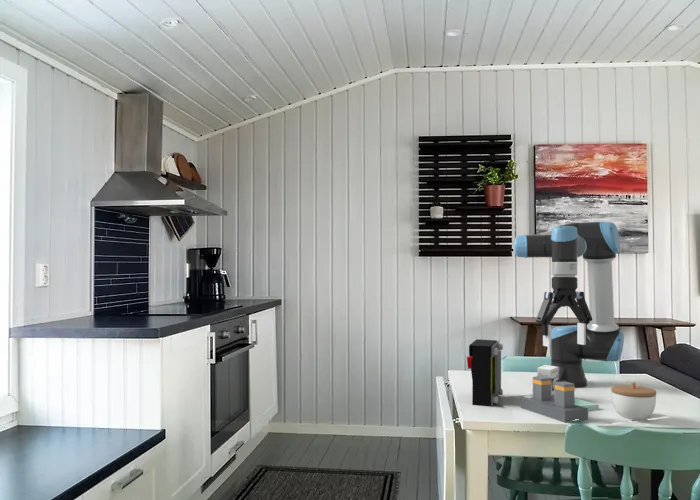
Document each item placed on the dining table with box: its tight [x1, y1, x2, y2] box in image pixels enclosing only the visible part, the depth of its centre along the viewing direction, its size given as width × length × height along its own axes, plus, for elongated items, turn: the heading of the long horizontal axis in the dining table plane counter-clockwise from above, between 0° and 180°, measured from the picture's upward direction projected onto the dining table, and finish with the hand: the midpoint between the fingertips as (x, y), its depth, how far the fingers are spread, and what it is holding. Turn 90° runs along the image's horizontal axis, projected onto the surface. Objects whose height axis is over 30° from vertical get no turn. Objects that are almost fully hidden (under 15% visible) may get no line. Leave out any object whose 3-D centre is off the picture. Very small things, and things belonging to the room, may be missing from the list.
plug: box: [555, 381, 576, 409], centre depth 183 cm, size 4×4×10 cm
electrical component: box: [466, 338, 504, 408], centre depth 208 cm, size 18×10×20 cm, turn 160°
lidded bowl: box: [610, 381, 657, 422], centre depth 185 cm, size 13×13×11 cm
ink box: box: [536, 364, 558, 399], centre depth 209 cm, size 8×5×12 cm, turn 144°
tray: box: [574, 397, 600, 412], centre depth 197 cm, size 12×12×2 cm
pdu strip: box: [520, 375, 589, 424], centre depth 188 cm, size 20×9×11 cm, turn 23°
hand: (564, 345), depth 184 cm, fingers open, 13 cm apart
